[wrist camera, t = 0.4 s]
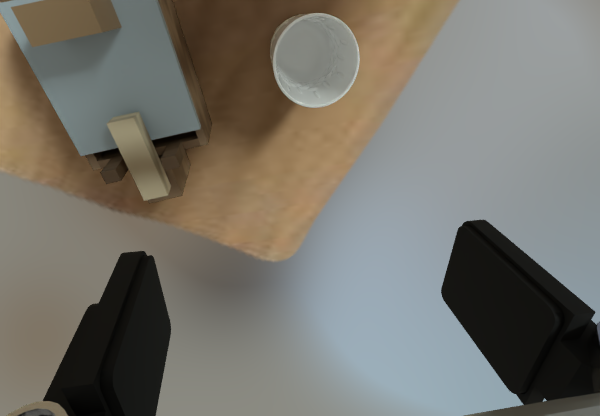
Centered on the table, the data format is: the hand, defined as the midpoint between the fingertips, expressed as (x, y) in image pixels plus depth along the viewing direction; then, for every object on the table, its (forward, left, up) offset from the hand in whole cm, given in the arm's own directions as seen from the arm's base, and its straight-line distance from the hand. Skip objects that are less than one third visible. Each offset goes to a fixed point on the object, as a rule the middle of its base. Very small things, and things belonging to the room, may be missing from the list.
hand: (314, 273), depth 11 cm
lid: (-4, -13, -28) cm, 31 cm away
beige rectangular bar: (+4, -13, -26) cm, 29 cm away
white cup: (-1, +5, -35) cm, 35 cm away
